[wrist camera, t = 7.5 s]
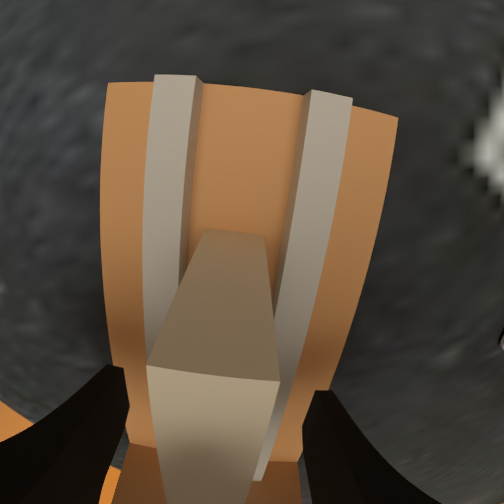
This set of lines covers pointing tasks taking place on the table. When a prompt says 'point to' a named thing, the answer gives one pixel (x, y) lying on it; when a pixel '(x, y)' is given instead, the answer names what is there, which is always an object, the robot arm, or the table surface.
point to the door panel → (215, 372)
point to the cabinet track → (239, 220)
